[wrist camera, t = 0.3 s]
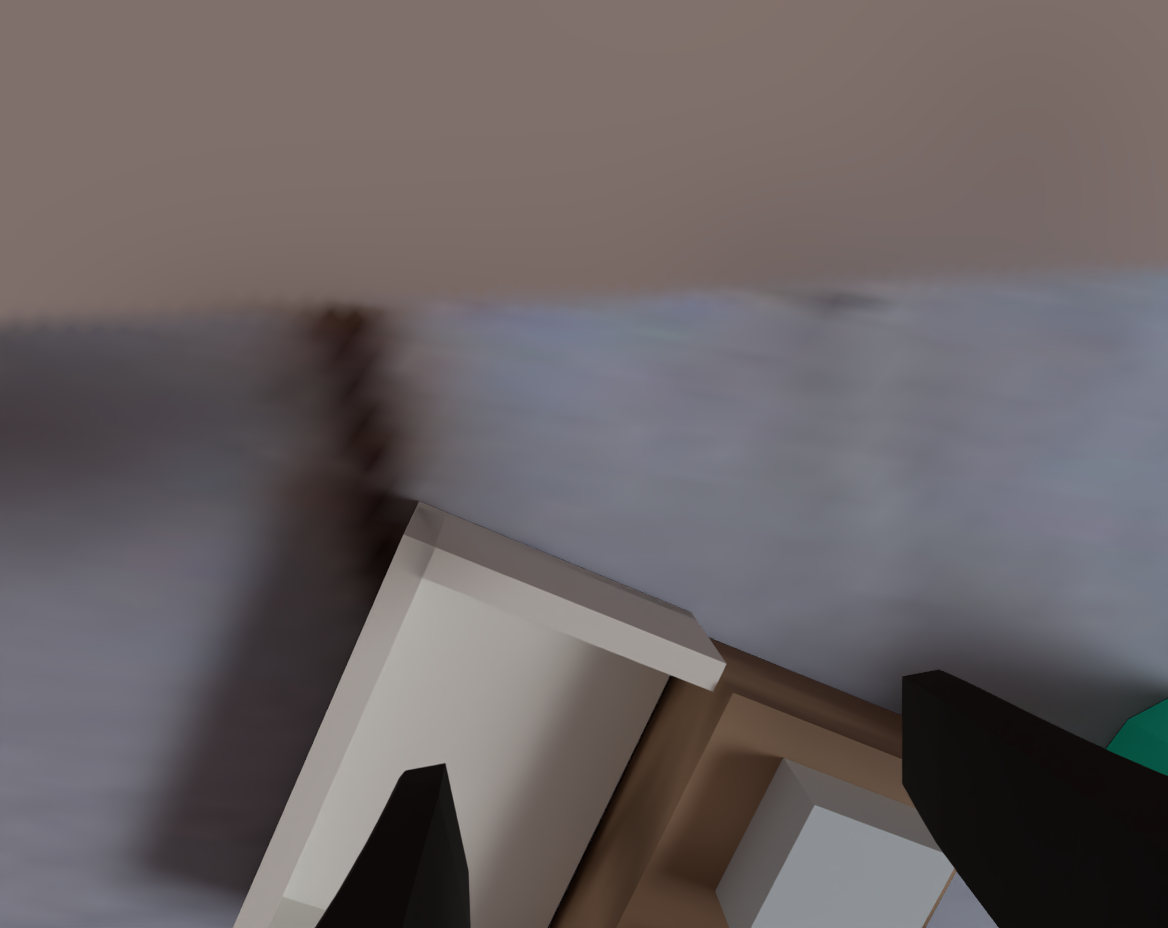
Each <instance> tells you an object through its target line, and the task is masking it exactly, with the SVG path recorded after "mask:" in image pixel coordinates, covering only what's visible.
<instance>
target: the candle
mask: <svg viewBox="0 0 1168 928" xmlns="http://www.w3.org/2000/svg"><path fill="white" fill-rule="evenodd" d="M1106 750H1109V751H1111V752H1113V753H1115V754H1118V755H1120V756H1122V757H1125V758H1127V759H1129V760H1132V761H1134V762H1136V763H1139V764H1141V765H1143V766H1145V767H1148V768H1150V769H1152V770H1155V771H1157V772H1159V773H1162V774H1164V775H1167V776H1168V699H1166V700H1164V701H1162V702H1160V703H1158V704H1156V705H1155V706H1153V707H1151V708H1149V709H1147V710H1145V711H1143V712H1141V713H1139V714H1138V715H1136V716H1134V717H1132V718H1130V719H1128V720H1127V722H1126V723H1125V724H1124V726H1123V727H1122V728H1121V730H1120V731H1119V732H1118V734H1117V735H1116V736H1115V738H1114V739H1113V740H1112V742H1111V743H1110V744H1109V746H1108V747H1107V748H1106Z"/></svg>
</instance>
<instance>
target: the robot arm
mask: <svg viewBox="0 0 1168 928" xmlns="http://www.w3.org/2000/svg"><path fill="white" fill-rule="evenodd" d="M902 784H903V786H904V788H905V790H906V791H907V793H908V795H909V797H910V799H911V801H912V802H913V804H914V806H915V808H916V810H917V811H918V813H919V815H920V817H921V818H922V820H923V822H924V823H925V825H926V827H927V829H928V830H929V832H930V834H931V835H932V837H933V839H934V840H935V842H936V844H937V845H938V846H939V848H940V849H941V851H942V852H943V853H944V855H945V856H946V858H947V859H948V860H949V862H950V863H951V864H952V866H953V867H954V868H955V870H956V871H957V872H958V874H959V875H960V877H961V878H962V879H963V881H964V882H965V883H966V885H967V886H968V887H969V889H970V890H971V891H972V893H973V894H974V895H975V897H976V898H977V899H978V901H979V902H980V903H981V905H982V906H983V907H984V909H985V910H986V911H987V913H988V914H989V915H990V917H991V918H992V919H993V921H994V922H995V923H996V925H997V926H998V927H999V928H1168V776H1167V775H1164V774H1162V773H1159V772H1157V771H1155V770H1152V769H1150V768H1148V767H1145V766H1143V765H1141V764H1139V763H1136V762H1134V761H1132V760H1129V759H1127V758H1125V757H1122V756H1120V755H1118V754H1115V753H1113V752H1111V751H1109V750H1106V749H1104V748H1102V747H1100V746H1098V745H1095V744H1093V743H1091V742H1089V741H1087V740H1085V739H1082V738H1080V737H1078V736H1076V735H1074V734H1072V733H1070V732H1068V731H1065V730H1063V729H1061V728H1059V727H1057V726H1055V725H1053V724H1051V723H1049V722H1047V721H1045V720H1043V719H1041V718H1039V717H1037V716H1035V715H1033V714H1031V713H1029V712H1026V711H1024V710H1022V709H1020V708H1018V707H1016V706H1014V705H1012V704H1010V703H1008V702H1006V701H1004V700H1002V699H1000V698H998V697H996V696H994V695H992V694H990V693H988V692H986V691H984V690H982V689H980V688H978V687H976V686H974V685H972V684H970V683H968V682H966V681H964V680H962V679H959V678H957V677H955V676H953V675H951V674H948V673H946V672H944V671H941V670H934V671H929V672H924V673H918V674H913V675H908V676H903V677H902ZM315 928H471V922H470V893H469V870H468V865H467V861H466V856H465V851H464V847H463V842H462V837H461V833H460V828H459V823H458V819H457V814H456V809H455V805H454V800H453V796H452V791H451V786H450V782H449V777H448V772H447V768H446V763H442V764H437V765H432V766H427V767H421V768H416V769H411V770H405V771H404V772H403V774H402V775H401V776H400V777H399V779H398V781H397V783H396V785H395V787H394V789H393V791H392V793H391V795H390V797H389V799H388V801H387V804H386V806H385V807H384V809H383V811H382V813H381V815H380V817H379V819H378V821H377V823H376V825H375V827H374V829H373V831H372V832H371V834H370V836H369V838H368V840H367V842H366V844H365V845H364V847H363V849H362V851H361V852H360V854H359V856H358V858H357V859H356V861H355V863H354V865H353V866H352V868H351V870H350V872H349V873H348V875H347V877H346V879H345V880H344V882H343V884H342V885H341V887H340V889H339V890H338V892H337V894H336V895H335V897H334V898H333V900H332V902H331V903H330V905H329V906H328V908H327V909H326V911H325V912H324V914H323V916H322V917H321V919H320V920H319V922H318V923H317V925H316V926H315Z"/></svg>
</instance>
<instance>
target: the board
mask: <svg viewBox="0 0 1168 928" xmlns="http://www.w3.org/2000/svg"><path fill="white" fill-rule="evenodd" d="M709 639H710V640H711V642H712V643H713V645H714V646H715V648H716V649H717V650H718V652H719V653H720V655H721V656H722V658H723V659H724V661H725V662H726V666H725V668H724V670H723V672H722V674H721V676H720V678H719V680H718V683H717V685H716V687H715V689H714V691H713V692H712V691H710V690H707V689H705V688H702V687H700V686H697V685H695V684H692V683H689V682H687V681H684V680H682V679H679V678H677V677H674V676H672V677H671V679H670V681H669V683H668V685H667V687H666V689H665V691H664V693H663V695H662V697H661V699H660V701H659V703H658V705H657V708H656V710H655V712H654V714H653V716H652V718H651V720H650V722H649V724H648V726H647V728H646V730H645V732H644V734H643V736H642V738H641V740H640V742H639V745H638V747H637V749H636V751H635V753H634V755H633V757H632V759H631V761H630V763H629V765H628V767H627V769H626V771H625V773H624V775H623V777H622V780H621V782H620V784H619V786H618V788H617V790H616V792H615V794H614V796H613V798H612V800H611V802H610V804H609V806H608V808H607V810H606V812H605V814H604V817H603V819H602V821H601V823H600V825H599V827H598V829H597V831H596V833H595V835H594V837H593V839H592V841H591V843H590V845H589V847H588V849H587V852H586V854H585V856H584V858H583V860H582V862H581V864H580V866H579V868H578V870H577V872H576V874H575V876H574V878H573V880H572V882H571V884H570V886H569V889H568V891H567V893H566V895H565V897H564V899H563V901H562V903H561V905H560V907H559V909H558V911H557V913H556V915H555V917H554V919H553V921H552V924H551V926H550V928H729V926H728V923H727V921H726V918H725V915H724V913H723V910H722V908H721V905H720V902H719V900H718V897H717V895H716V892H715V890H716V888H717V887H718V885H719V883H720V881H721V879H722V877H723V875H724V873H725V871H726V869H727V867H728V865H729V863H730V861H731V859H732V857H733V855H734V853H735V851H736V849H737V847H738V845H739V843H740V842H741V840H742V838H743V836H744V834H745V832H746V830H747V828H748V826H749V824H750V822H751V820H752V818H753V816H754V814H755V812H756V810H757V808H758V806H759V804H760V802H761V800H762V798H763V796H764V795H765V793H766V791H767V789H768V787H769V785H770V783H771V781H772V779H773V777H774V775H775V773H776V771H777V769H778V767H779V765H780V763H781V761H782V759H783V758H785V759H788V760H791V761H793V762H796V763H798V764H801V765H804V766H806V767H809V768H811V769H814V770H817V771H819V772H822V773H824V774H827V775H830V776H832V777H835V778H838V779H840V780H843V781H845V782H848V783H851V784H853V785H856V786H858V787H861V788H864V789H866V790H869V791H872V792H874V793H877V794H879V795H882V796H885V797H887V798H890V799H892V800H895V801H898V802H900V803H903V804H905V805H908V806H911V807H913V808H915V806H914V804H913V802H912V801H911V799H910V797H909V795H908V793H907V791H906V790H905V788H904V786H903V784H902V716H901V715H899V714H896V713H894V712H891V711H889V710H886V709H884V708H881V707H879V706H876V705H874V704H871V703H869V702H866V701H864V700H862V699H859V698H857V697H854V696H852V695H849V694H847V693H844V692H842V691H839V690H837V689H834V688H832V687H829V686H827V685H825V684H822V683H820V682H817V681H815V680H812V679H810V678H807V677H805V676H802V675H800V674H797V673H795V672H792V671H790V670H787V669H785V668H783V667H780V666H778V665H775V664H773V663H770V662H768V661H765V660H763V659H760V658H758V657H755V656H753V655H750V654H748V653H746V652H743V651H741V650H738V649H736V648H733V647H731V646H728V645H726V644H723V643H721V642H718V641H716V640H713V639H711V638H709ZM915 809H916V808H915ZM955 873H956V870H955V868H954V870H953V872H952V873H951V875H950V877H949V879H948V881H947V883H946V884H945V886H944V888H943V890H942V892H941V894H940V895H939V897H938V899H937V901H936V903H935V904H934V906H933V908H932V910H931V912H930V914H929V915H928V917H927V919H926V921H925V923H924V925H923V926H922V928H925V927H926V926H927V924H928V922H929V920H930V918H931V916H932V915H933V913H934V911H935V909H936V907H937V906H938V904H939V902H940V900H941V898H942V896H943V895H944V893H945V891H946V889H947V887H948V886H949V884H950V882H951V880H952V878H953V876H954V875H955Z"/></svg>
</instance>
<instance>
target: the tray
mask: <svg viewBox="0 0 1168 928" xmlns="http://www.w3.org/2000/svg"><path fill="white" fill-rule="evenodd" d="M725 666H726V662H725V661H724V659H723V658H722V656H721V655H720V653H719V652H718V650H717V649H716V648H715V646H714V645H713V643H712V642H711V640H710V639H709V637H708V636H707V634H706V633H705V631H704V630H703V629H702V627H701V626H700V624H699V623H698V621H697V620H696V618H695V617H694V615H693V614H692V613H691V612H688V611H686V610H683V609H681V608H679V607H676V606H674V605H671V604H669V603H666V602H664V601H661V600H659V599H657V598H654V597H652V596H649V595H647V594H644V593H642V592H639V591H637V590H635V589H632V588H630V587H627V586H625V585H622V584H620V583H617V582H615V581H613V580H610V579H608V578H605V577H603V576H600V575H598V574H595V573H593V572H591V571H588V570H586V569H583V568H581V567H578V566H576V565H574V564H571V563H569V562H566V561H564V560H561V559H559V558H556V557H554V556H552V555H549V554H547V553H544V552H542V551H539V550H537V549H534V548H532V547H530V546H527V545H525V544H522V543H520V542H517V541H515V540H512V539H510V538H508V537H505V536H503V535H500V534H498V533H495V532H493V531H490V530H488V529H486V528H483V527H481V526H478V525H476V524H473V523H471V522H468V521H466V520H464V519H461V518H459V517H456V516H454V515H451V514H449V513H447V512H444V511H442V510H439V509H437V508H434V507H432V506H429V505H427V504H425V503H422V502H420V501H419V502H418V505H417V507H416V509H415V511H414V513H413V515H412V517H411V519H410V522H409V524H408V526H407V528H406V530H405V532H404V534H403V537H402V539H401V541H400V544H399V546H398V548H397V551H396V553H395V555H394V558H393V560H392V562H391V564H390V567H389V569H388V571H387V574H386V576H385V578H384V581H383V583H382V585H381V588H380V590H379V592H378V594H377V597H376V599H375V601H374V604H373V606H372V608H371V611H370V613H369V615H368V618H367V620H366V622H365V624H364V627H363V629H362V631H361V634H360V636H359V638H358V641H357V643H356V645H355V648H354V650H353V652H352V655H351V657H350V659H349V661H348V664H347V666H346V668H345V671H344V673H343V675H342V678H341V680H340V682H339V685H338V687H337V689H336V691H335V694H334V696H333V698H332V701H331V703H330V705H329V708H328V710H327V712H326V715H325V717H324V719H323V721H322V724H321V726H320V728H319V731H318V733H317V735H316V738H315V740H314V742H313V745H312V747H311V749H310V751H309V754H308V756H307V758H306V761H305V763H304V765H303V768H302V770H301V772H300V775H299V777H298V779H297V781H296V784H295V786H294V788H293V791H292V793H291V795H290V798H289V800H288V802H287V805H286V807H285V809H284V812H283V814H282V816H281V818H280V821H279V823H278V825H277V828H276V830H275V832H274V835H273V837H272V839H271V842H270V844H269V846H268V848H267V851H266V853H265V855H264V858H263V860H262V862H261V865H260V867H259V869H258V872H257V874H256V876H255V878H254V881H253V883H252V885H251V888H250V890H249V892H248V895H247V897H246V899H245V902H244V904H243V906H242V908H241V911H240V913H239V915H238V918H237V920H236V922H235V925H234V927H233V928H315V926H316V925H317V923H318V922H319V920H320V919H321V917H322V916H323V914H324V912H325V911H326V909H327V908H328V906H329V905H330V903H331V902H332V900H333V898H334V897H335V895H336V894H337V892H338V890H339V889H340V887H341V885H342V884H343V882H344V880H345V879H346V877H347V875H348V873H349V872H350V870H351V868H352V866H353V865H354V863H355V861H356V859H357V858H358V856H359V854H360V852H361V851H362V849H363V847H364V845H365V844H366V842H367V840H368V838H369V836H370V834H371V832H372V831H373V829H374V827H375V825H376V823H377V821H378V819H379V817H380V815H381V813H382V811H383V809H384V807H385V806H386V804H387V801H388V799H389V797H390V795H391V793H392V791H393V789H394V787H395V785H396V783H397V781H398V779H399V777H400V776H401V775H402V774H403V772H404V771H405V770H411V769H416V768H421V767H427V766H432V765H437V764H442V763H446V768H447V772H448V777H449V782H450V786H451V791H452V796H453V800H454V805H455V809H456V814H457V819H458V823H459V828H460V833H461V837H462V842H463V847H464V851H465V856H466V861H467V865H468V870H469V893H470V922H471V928H548V926H549V924H550V922H551V920H552V917H553V915H554V913H555V911H556V909H557V907H558V905H559V903H560V901H561V899H562V897H563V895H564V893H565V891H566V889H567V887H568V885H569V882H570V880H571V878H572V876H573V874H574V872H575V870H576V868H577V866H578V864H579V862H580V860H581V858H582V856H583V854H584V852H585V850H586V847H587V845H588V843H589V841H590V839H591V837H592V835H593V833H594V831H595V829H596V827H597V825H598V823H599V821H600V819H601V817H602V815H603V812H604V810H605V808H606V806H607V804H608V802H609V800H610V798H611V796H612V794H613V792H614V790H615V788H616V786H617V784H618V782H619V780H620V777H621V775H622V773H623V771H624V769H625V767H626V765H627V763H628V761H629V759H630V757H631V755H632V753H633V751H634V749H635V747H636V745H637V743H638V740H639V738H640V736H641V734H642V732H643V730H644V728H645V726H646V724H647V722H648V720H649V718H650V716H651V714H652V712H653V710H654V708H655V705H656V703H657V701H658V699H659V697H660V695H661V693H662V691H663V689H664V687H665V685H666V683H667V681H668V679H669V677H670V675H672V676H674V677H677V678H679V679H682V680H684V681H687V682H689V683H692V684H695V685H697V686H700V687H702V688H705V689H707V690H710V691H712V692H713V691H714V689H715V687H716V685H717V683H718V680H719V678H720V676H721V674H722V672H723V670H724V668H725Z"/></svg>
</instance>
